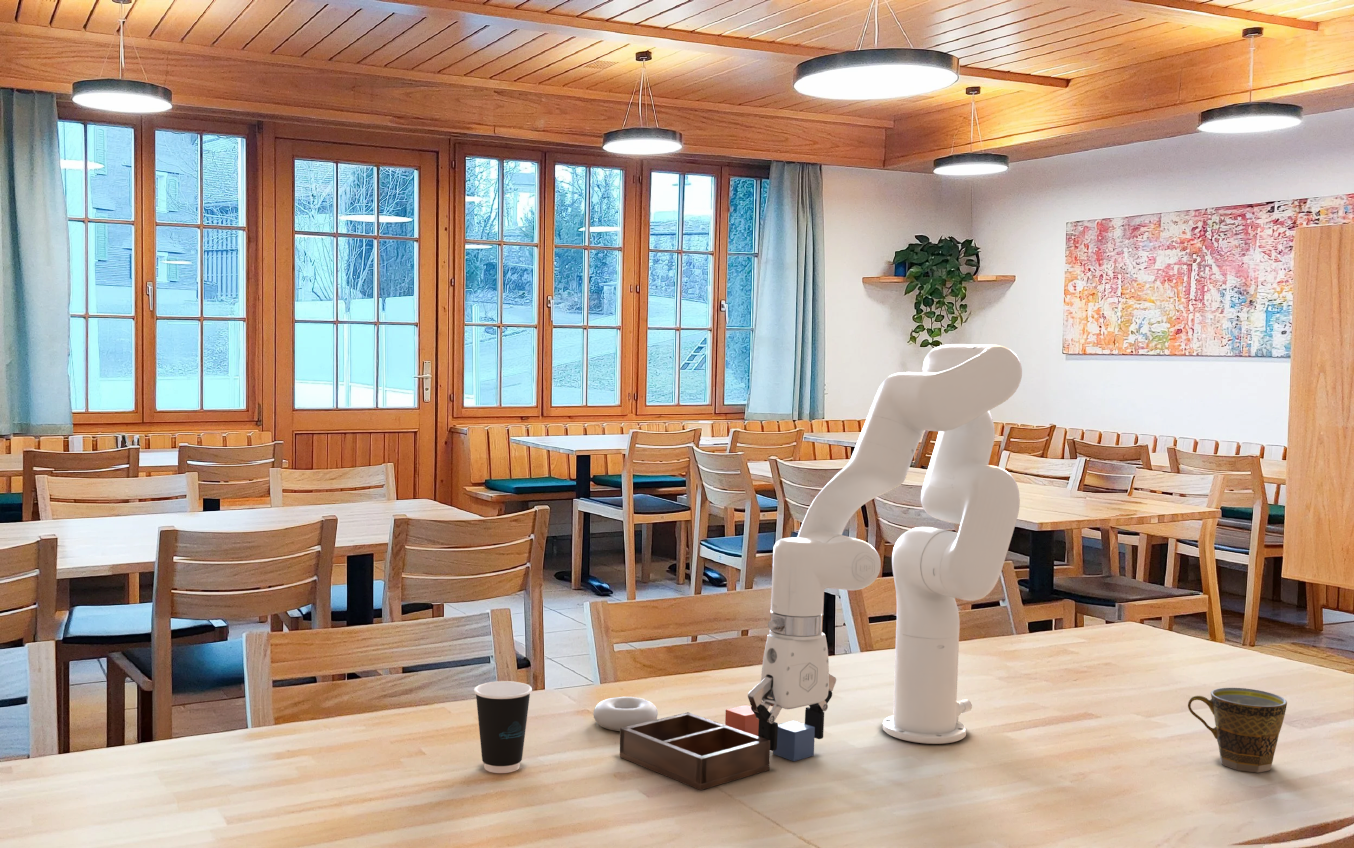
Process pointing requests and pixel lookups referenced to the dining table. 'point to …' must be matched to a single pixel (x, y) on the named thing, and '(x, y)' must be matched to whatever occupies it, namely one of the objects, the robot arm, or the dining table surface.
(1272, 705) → the ceramic cup
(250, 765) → the dining table surface
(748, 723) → the terracotta block
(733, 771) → the sorting tray
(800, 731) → the slate block
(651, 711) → the donut
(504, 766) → the dixie cup
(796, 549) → the robot arm
